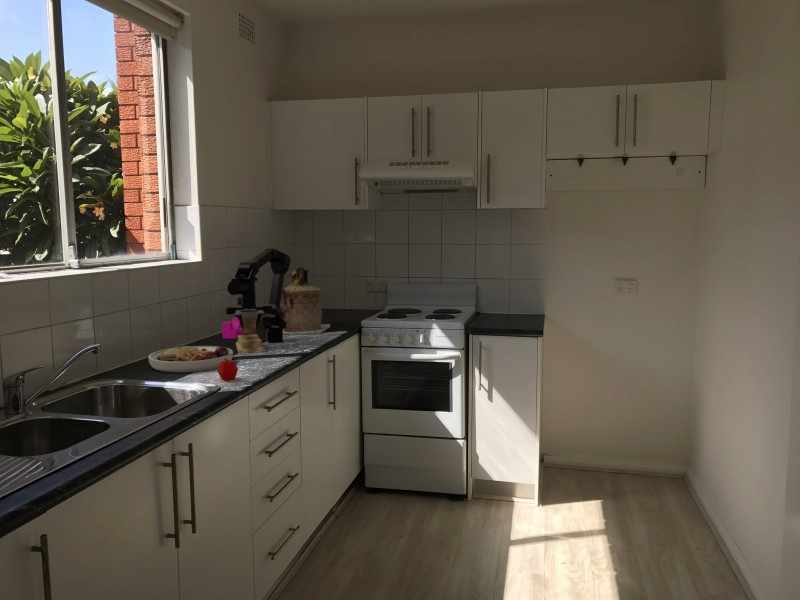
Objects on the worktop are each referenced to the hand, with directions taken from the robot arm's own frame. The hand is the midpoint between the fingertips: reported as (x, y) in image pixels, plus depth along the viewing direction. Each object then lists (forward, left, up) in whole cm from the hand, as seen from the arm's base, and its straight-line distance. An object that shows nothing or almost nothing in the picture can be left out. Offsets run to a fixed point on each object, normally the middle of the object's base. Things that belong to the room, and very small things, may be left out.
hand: (249, 330), depth 280 cm
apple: (+11, +54, -9) cm, 56 cm away
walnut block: (0, 0, -1) cm, 1 cm away
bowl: (+23, +24, -9) cm, 35 cm away
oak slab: (0, 0, -6) cm, 6 cm away
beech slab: (0, 0, -9) cm, 9 cm away
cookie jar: (-27, -42, -9) cm, 51 cm away
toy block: (+5, -37, -9) cm, 39 cm away
